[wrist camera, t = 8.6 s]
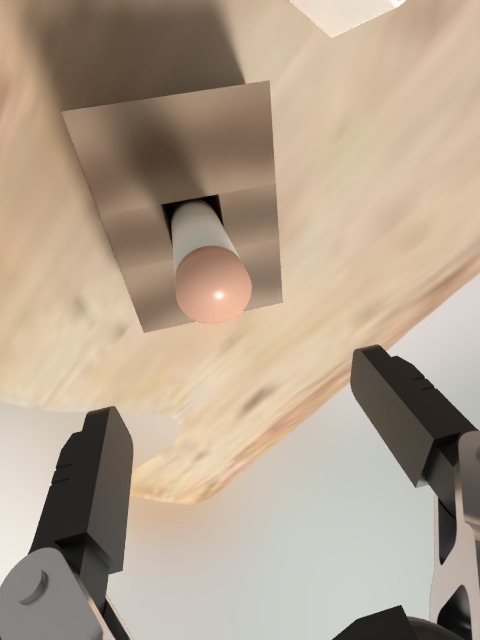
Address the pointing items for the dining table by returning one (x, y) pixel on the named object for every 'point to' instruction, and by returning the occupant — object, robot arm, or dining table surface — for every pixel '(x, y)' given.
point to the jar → (343, 12)
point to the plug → (206, 266)
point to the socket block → (182, 185)
